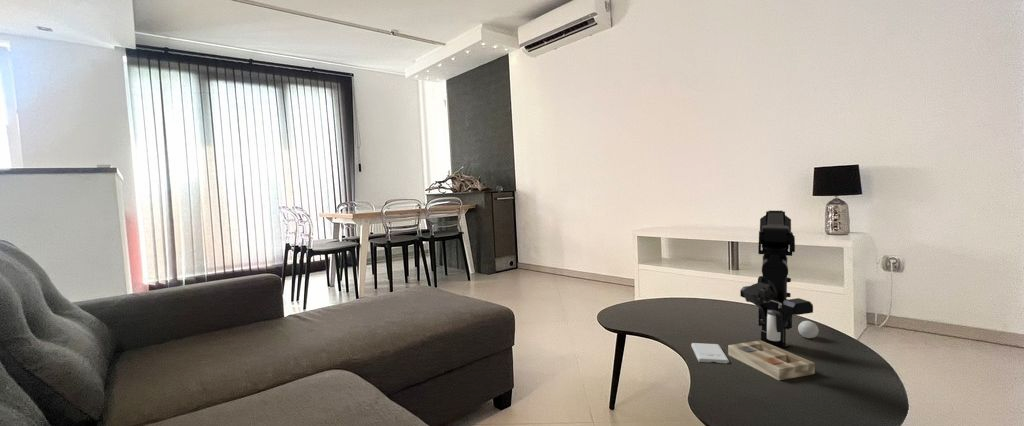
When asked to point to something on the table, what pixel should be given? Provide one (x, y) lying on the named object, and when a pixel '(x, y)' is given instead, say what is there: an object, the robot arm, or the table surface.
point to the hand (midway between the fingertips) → (773, 329)
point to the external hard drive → (709, 353)
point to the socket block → (771, 360)
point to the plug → (772, 326)
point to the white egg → (808, 329)
